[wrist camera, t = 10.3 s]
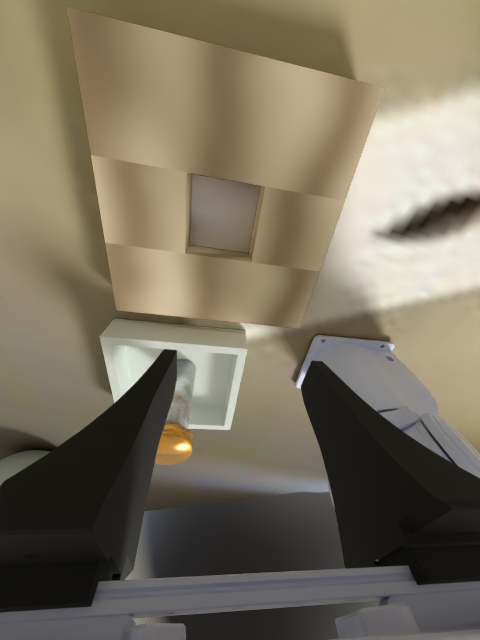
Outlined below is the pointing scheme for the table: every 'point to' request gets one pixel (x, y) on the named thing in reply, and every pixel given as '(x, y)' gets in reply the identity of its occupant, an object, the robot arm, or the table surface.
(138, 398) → the robot arm
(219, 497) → the table surface
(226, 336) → the tray
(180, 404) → the pin
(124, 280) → the pin plate
